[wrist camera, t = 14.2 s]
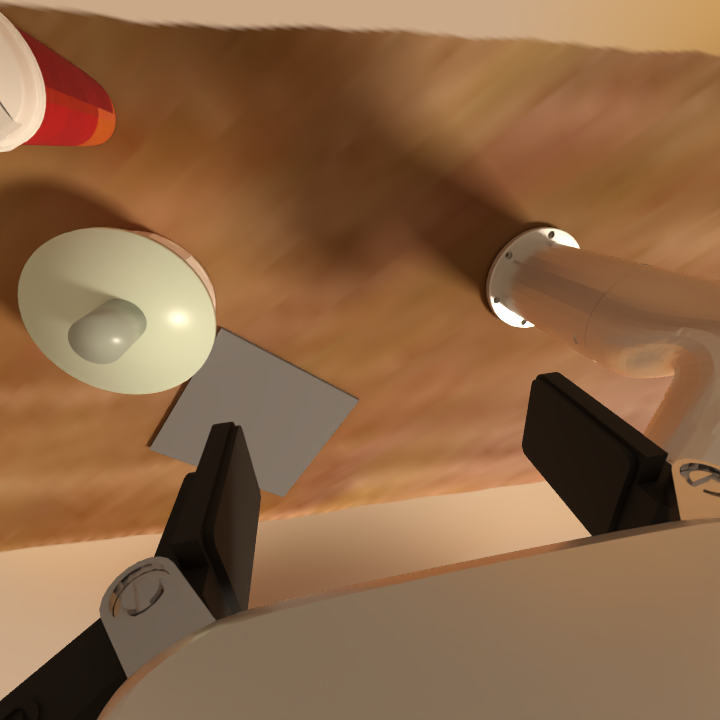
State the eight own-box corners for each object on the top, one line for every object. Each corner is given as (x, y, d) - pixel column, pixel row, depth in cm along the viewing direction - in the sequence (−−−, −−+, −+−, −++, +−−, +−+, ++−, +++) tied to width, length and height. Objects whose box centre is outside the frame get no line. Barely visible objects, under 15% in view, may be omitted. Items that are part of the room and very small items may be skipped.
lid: (245, 291, 35) (238, 311, 30) (175, 412, 39) (157, 448, 34) (60, 185, 29) (8, 186, 23) (1, 342, 33) (-53, 373, 28)
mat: (358, 398, 50) (359, 400, 49) (283, 494, 55) (283, 497, 55) (221, 327, 42) (221, 328, 42) (150, 446, 48) (149, 449, 47)
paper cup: (16, 43, 29) (-186, -57, 17) (122, 63, 31) (9, -15, 18) (40, 154, 32) (-113, 138, 20) (135, 167, 34) (47, 160, 22)
